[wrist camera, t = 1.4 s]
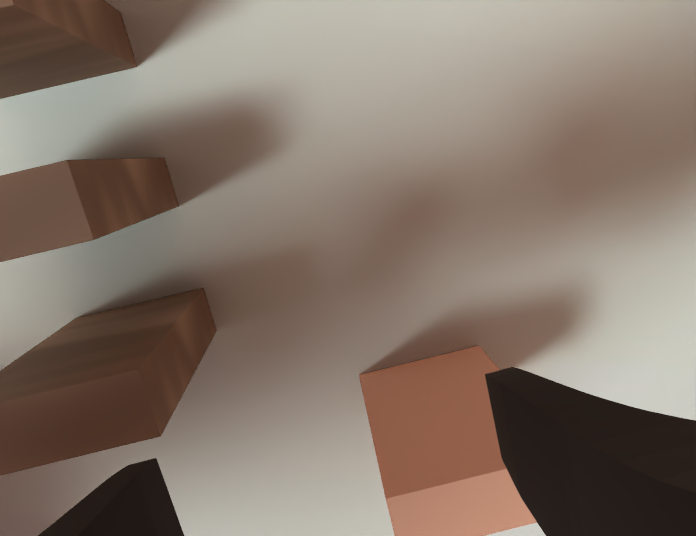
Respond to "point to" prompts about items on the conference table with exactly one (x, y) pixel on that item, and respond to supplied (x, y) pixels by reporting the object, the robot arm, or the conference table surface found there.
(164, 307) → the brown rectangular block
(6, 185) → the tile
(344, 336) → the conference table surface
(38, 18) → the tile
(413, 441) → the tile
